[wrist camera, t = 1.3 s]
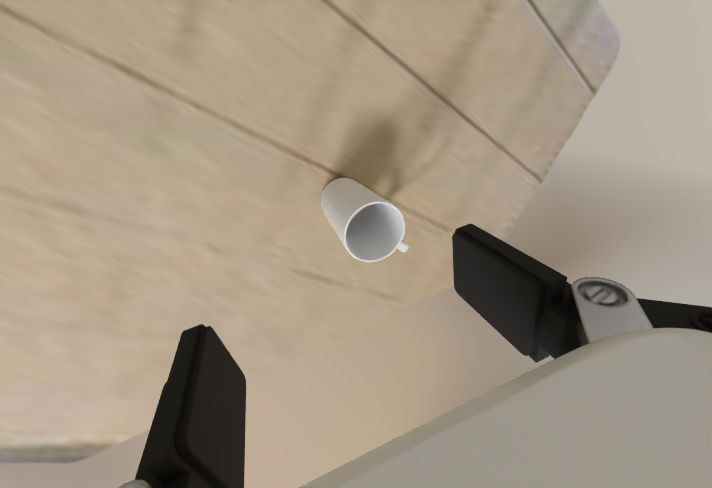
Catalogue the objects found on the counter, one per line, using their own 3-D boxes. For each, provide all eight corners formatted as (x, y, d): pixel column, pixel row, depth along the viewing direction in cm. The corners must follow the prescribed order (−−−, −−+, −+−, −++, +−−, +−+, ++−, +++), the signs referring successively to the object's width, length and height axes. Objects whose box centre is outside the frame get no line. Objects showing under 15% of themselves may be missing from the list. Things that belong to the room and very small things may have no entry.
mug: (308, 208, 38) (330, 246, 27) (335, 165, 36) (369, 188, 26) (364, 239, 43) (401, 281, 32) (390, 202, 41) (436, 234, 31)
